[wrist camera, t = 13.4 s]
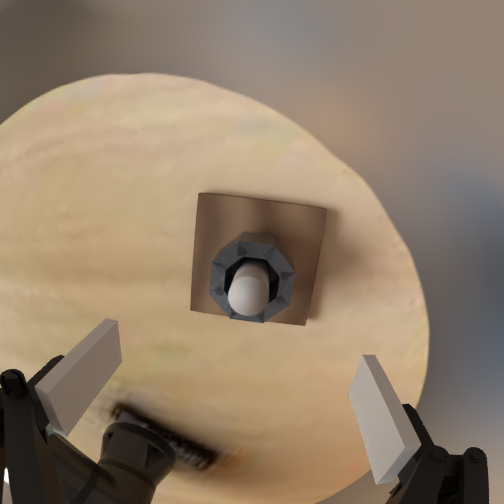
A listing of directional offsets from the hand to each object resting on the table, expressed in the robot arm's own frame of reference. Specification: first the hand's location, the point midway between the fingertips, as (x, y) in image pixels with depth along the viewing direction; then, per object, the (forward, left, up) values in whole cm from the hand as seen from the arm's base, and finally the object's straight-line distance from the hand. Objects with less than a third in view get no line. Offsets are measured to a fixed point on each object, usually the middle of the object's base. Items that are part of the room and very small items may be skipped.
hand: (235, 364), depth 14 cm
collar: (0, 0, -17) cm, 17 cm away
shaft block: (0, 0, -21) cm, 21 cm away
